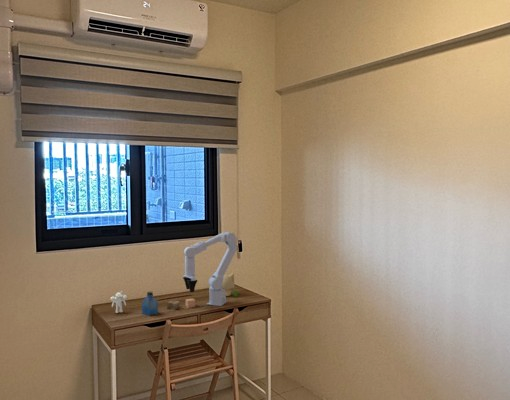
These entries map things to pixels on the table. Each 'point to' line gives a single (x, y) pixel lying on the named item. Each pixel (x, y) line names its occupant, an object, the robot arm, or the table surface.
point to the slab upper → (173, 303)
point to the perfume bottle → (149, 305)
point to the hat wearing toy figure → (118, 301)
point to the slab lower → (172, 307)
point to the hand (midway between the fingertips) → (190, 290)
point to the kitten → (229, 284)
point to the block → (190, 303)
